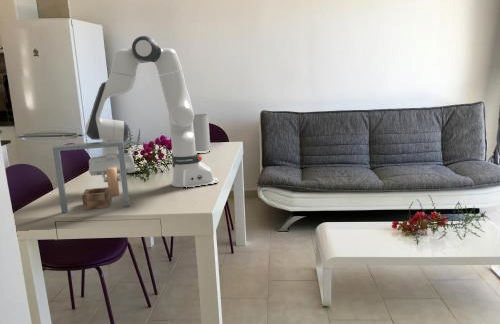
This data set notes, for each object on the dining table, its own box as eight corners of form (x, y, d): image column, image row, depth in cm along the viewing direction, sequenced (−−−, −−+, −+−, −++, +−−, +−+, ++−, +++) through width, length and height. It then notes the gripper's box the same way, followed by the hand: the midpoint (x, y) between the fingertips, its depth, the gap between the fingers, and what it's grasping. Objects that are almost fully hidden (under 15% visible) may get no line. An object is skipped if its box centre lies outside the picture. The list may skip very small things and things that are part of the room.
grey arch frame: (130, 202, 182) (123, 140, 176) (129, 206, 177) (122, 142, 171) (64, 209, 177) (55, 145, 172) (61, 213, 172) (52, 147, 166)
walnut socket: (112, 200, 187) (110, 186, 185) (109, 207, 177) (107, 193, 176) (87, 202, 185) (85, 189, 183) (83, 209, 175) (82, 195, 174)
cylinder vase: (194, 150, 298) (191, 114, 293) (212, 150, 296) (210, 113, 291) (189, 154, 286) (186, 116, 281) (208, 153, 284) (205, 115, 279)
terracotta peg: (119, 192, 199) (117, 167, 196) (118, 195, 194) (116, 169, 192) (109, 193, 198) (106, 167, 196) (108, 196, 194) (105, 169, 191)
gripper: (87, 153, 197) (86, 179, 190) (133, 150, 201) (134, 175, 194) (90, 161, 202) (89, 186, 195) (135, 157, 206) (136, 182, 199)
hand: (112, 180), depth 194 cm, fingers closed on terracotta peg, 4 cm apart
